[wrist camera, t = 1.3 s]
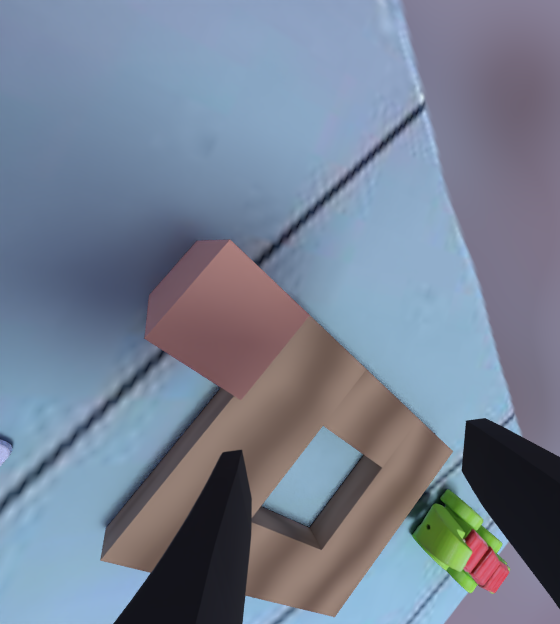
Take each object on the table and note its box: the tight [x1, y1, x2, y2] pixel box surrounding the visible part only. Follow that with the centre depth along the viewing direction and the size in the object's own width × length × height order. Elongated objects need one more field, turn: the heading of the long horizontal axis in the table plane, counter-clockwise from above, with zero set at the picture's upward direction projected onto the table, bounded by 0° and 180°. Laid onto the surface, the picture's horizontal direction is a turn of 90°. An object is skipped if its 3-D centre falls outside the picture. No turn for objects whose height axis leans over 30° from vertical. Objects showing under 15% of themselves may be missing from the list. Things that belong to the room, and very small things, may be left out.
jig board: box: [100, 316, 453, 617], centre depth 22 cm, size 22×18×2 cm
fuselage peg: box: [144, 240, 310, 400], centre depth 13 cm, size 4×4×8 cm
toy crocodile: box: [412, 489, 510, 594], centre depth 31 cm, size 20×7×6 cm, turn 41°
